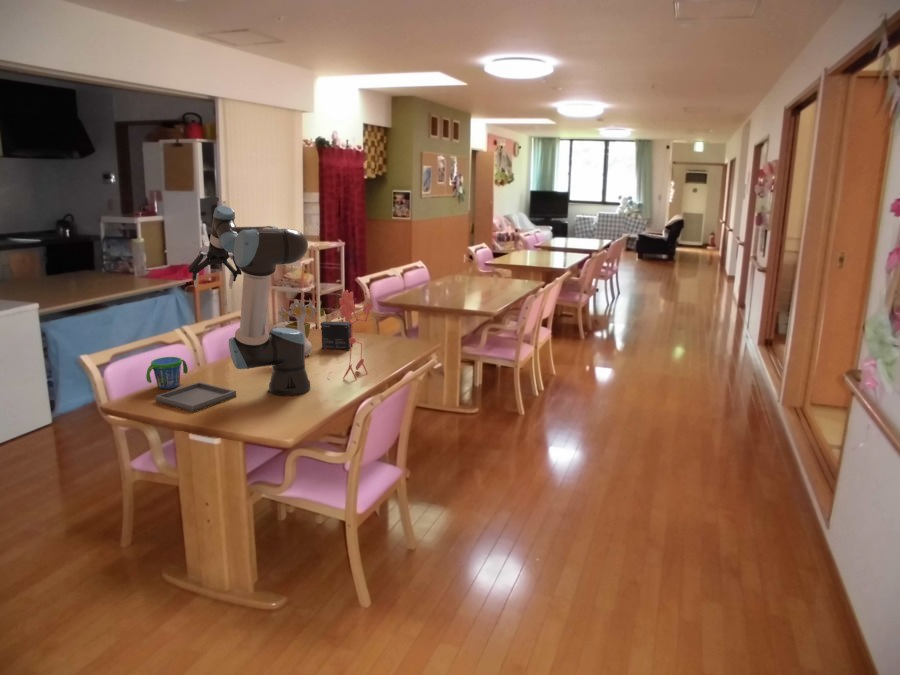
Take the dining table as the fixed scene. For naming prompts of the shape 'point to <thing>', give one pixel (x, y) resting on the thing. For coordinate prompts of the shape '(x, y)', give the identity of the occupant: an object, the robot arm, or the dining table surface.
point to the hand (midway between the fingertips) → (213, 286)
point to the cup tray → (195, 396)
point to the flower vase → (300, 318)
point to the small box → (336, 335)
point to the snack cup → (167, 371)
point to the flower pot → (295, 326)
